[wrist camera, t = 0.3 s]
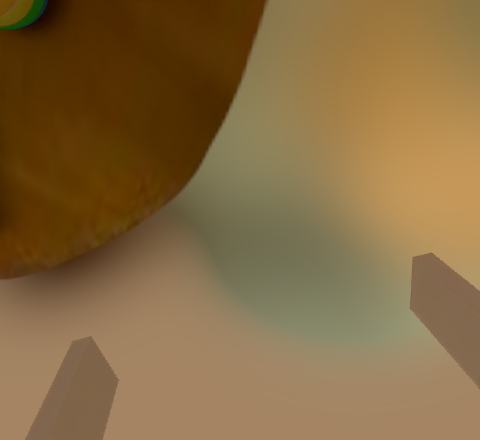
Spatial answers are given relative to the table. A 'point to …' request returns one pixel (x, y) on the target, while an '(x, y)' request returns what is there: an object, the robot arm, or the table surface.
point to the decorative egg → (20, 12)
